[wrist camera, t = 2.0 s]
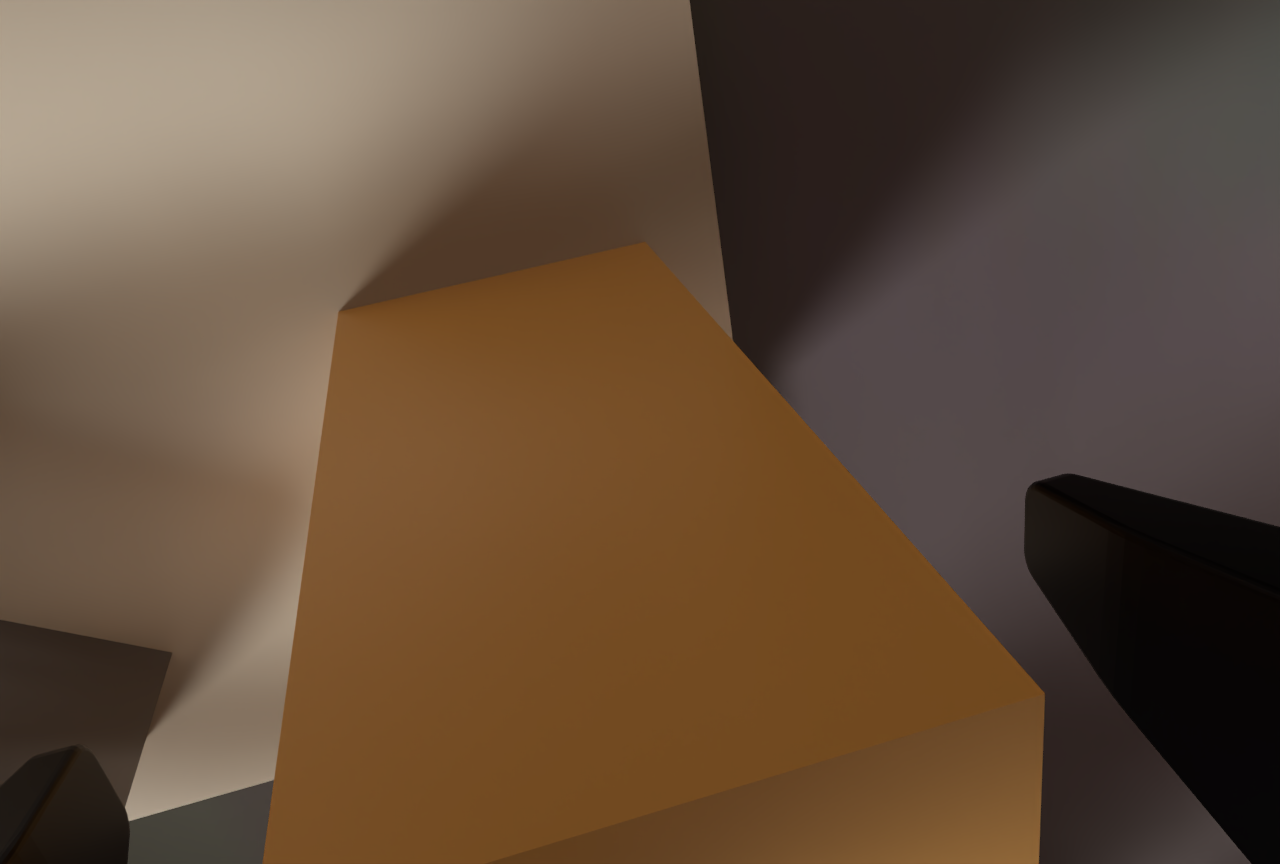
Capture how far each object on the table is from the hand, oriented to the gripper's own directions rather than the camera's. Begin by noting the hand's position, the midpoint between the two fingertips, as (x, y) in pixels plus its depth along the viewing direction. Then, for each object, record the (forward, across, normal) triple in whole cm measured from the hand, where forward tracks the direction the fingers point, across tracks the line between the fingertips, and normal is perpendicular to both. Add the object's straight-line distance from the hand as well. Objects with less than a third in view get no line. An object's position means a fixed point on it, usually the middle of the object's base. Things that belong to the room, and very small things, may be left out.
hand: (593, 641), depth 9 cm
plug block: (+5, 0, 0) cm, 5 cm away
